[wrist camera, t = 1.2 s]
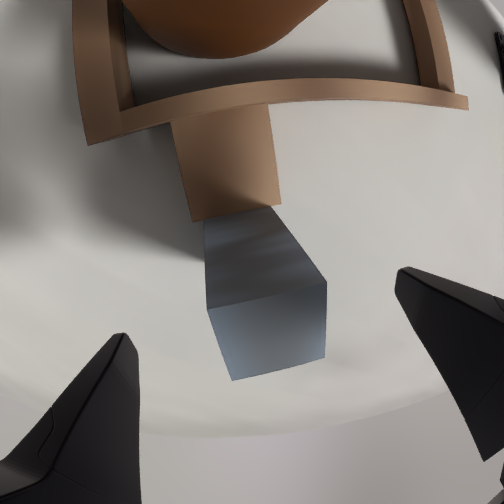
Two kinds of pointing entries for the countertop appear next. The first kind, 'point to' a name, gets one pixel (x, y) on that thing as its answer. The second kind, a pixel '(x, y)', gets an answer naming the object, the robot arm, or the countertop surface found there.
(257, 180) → the brown frame with handle
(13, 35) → the countertop surface
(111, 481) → the robot arm
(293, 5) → the mug
